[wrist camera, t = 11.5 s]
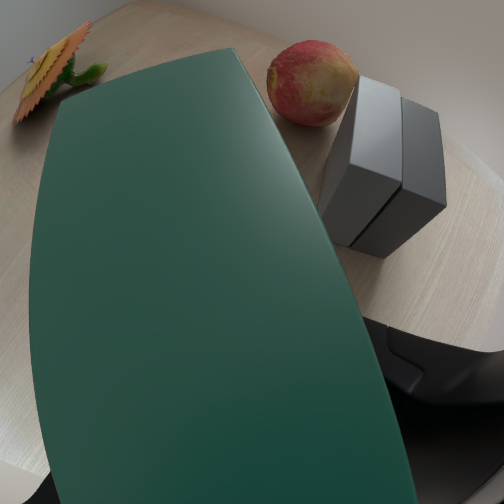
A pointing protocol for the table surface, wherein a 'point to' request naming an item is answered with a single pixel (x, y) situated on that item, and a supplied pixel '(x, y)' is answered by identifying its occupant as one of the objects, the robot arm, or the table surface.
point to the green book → (197, 308)
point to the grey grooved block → (382, 171)
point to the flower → (56, 72)
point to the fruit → (311, 82)
